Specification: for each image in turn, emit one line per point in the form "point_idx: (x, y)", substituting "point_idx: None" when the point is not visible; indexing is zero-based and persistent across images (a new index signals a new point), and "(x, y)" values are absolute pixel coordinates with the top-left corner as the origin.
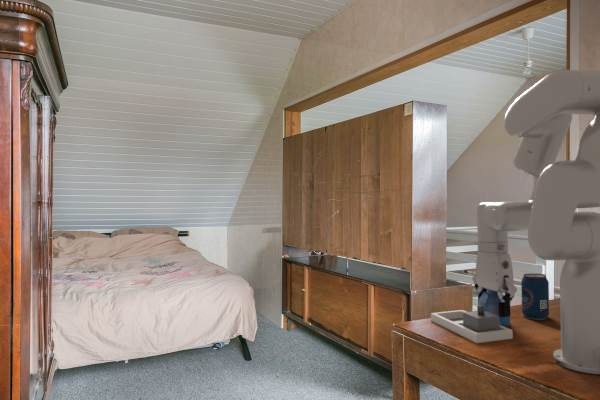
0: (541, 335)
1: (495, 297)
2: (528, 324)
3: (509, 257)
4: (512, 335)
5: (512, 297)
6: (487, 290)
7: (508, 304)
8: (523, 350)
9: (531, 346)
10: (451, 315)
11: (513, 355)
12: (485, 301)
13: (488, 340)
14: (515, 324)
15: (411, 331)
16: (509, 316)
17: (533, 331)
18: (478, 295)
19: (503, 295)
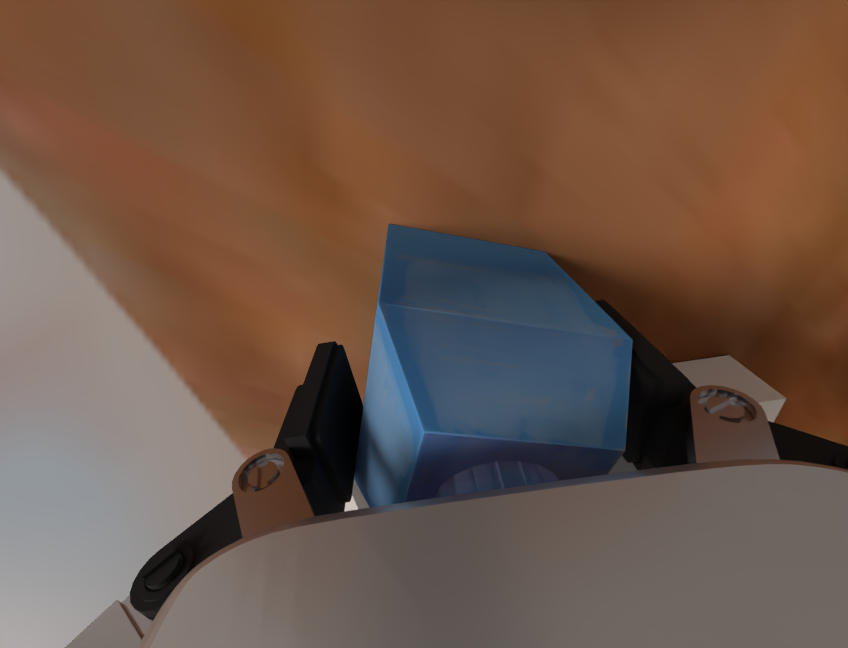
0: (757, 122)
1: None
2: (495, 23)
3: None
4: (758, 378)
5: (843, 456)
6: (305, 496)
7: (689, 393)
8: (824, 362)
9: (823, 305)
10: (363, 497)
11: (824, 416)
12: None
13: None
14: (464, 151)
15: None
16: (580, 291)
17: (661, 120)
18: (335, 511)
19: (622, 449)
